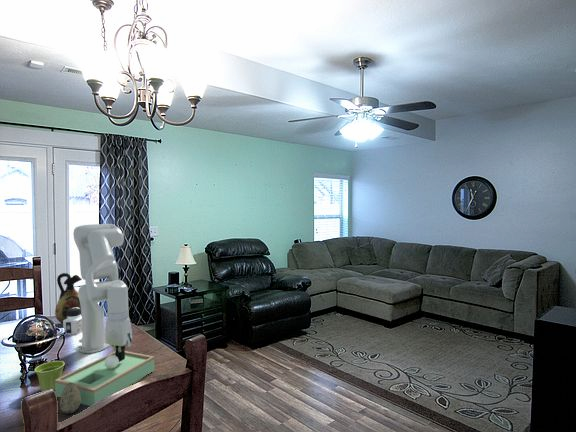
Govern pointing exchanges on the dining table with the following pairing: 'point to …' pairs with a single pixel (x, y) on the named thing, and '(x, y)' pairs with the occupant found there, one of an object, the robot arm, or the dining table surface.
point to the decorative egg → (70, 398)
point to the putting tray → (106, 377)
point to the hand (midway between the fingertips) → (120, 360)
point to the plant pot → (49, 374)
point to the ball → (111, 361)
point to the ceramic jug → (67, 296)
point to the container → (73, 321)
